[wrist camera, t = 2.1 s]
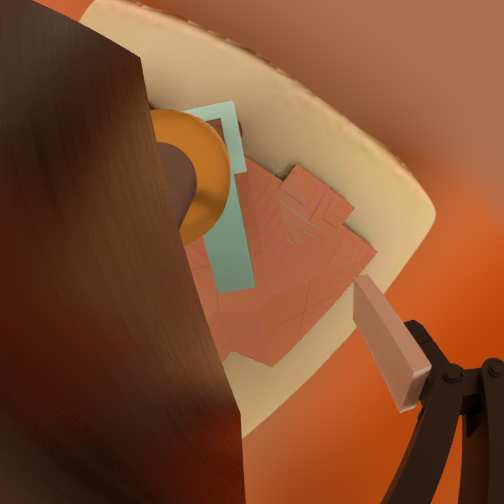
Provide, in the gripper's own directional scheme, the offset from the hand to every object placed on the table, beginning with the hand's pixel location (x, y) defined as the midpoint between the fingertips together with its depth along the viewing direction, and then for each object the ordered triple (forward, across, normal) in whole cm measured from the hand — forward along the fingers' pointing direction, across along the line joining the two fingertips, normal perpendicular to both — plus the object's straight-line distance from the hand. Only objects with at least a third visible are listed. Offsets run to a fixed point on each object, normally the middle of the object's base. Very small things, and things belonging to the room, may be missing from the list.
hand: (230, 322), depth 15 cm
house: (+26, -1, +13) cm, 29 cm away
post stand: (+26, 0, -8) cm, 27 cm away
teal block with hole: (+12, 0, -4) cm, 13 cm away
